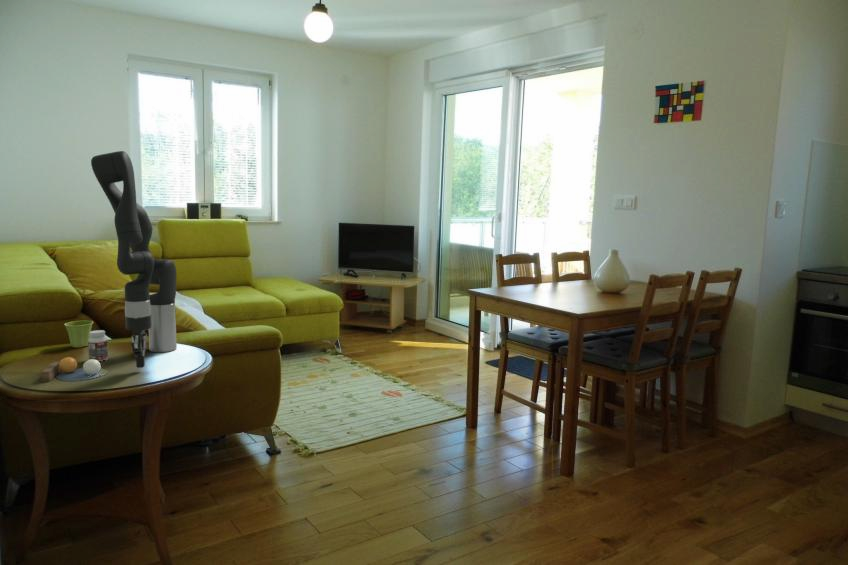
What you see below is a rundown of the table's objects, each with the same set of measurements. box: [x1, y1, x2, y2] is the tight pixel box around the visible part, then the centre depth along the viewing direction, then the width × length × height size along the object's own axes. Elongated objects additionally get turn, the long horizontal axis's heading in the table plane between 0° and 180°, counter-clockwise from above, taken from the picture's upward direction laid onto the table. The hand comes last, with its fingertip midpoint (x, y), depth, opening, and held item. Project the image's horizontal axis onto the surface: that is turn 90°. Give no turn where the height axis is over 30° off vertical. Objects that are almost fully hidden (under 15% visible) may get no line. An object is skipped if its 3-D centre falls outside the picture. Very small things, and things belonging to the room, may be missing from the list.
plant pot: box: [64, 320, 94, 349], centre depth 228 cm, size 9×9×9 cm
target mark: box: [55, 367, 108, 382], centre depth 194 cm, size 14×14×1 cm
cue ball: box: [82, 359, 102, 375], centre depth 194 cm, size 5×5×5 cm
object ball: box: [59, 356, 78, 373], centre depth 195 cm, size 5×5×5 cm
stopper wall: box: [40, 360, 62, 383], centre depth 192 cm, size 12×2×3 cm, turn 15°
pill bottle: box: [88, 329, 109, 362], centre depth 210 cm, size 6×6×10 cm
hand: (140, 366), depth 198 cm, fingers closed
